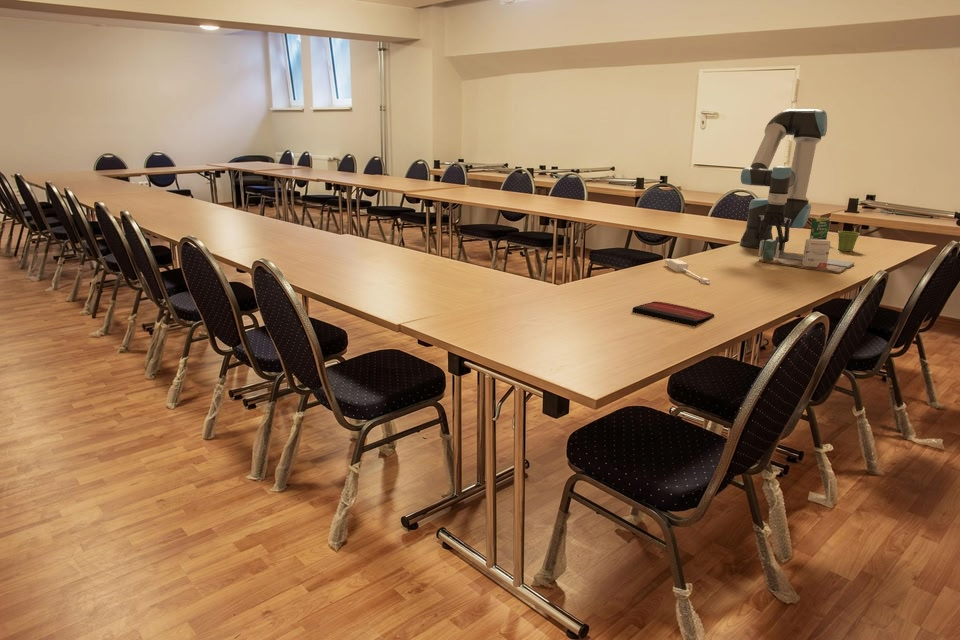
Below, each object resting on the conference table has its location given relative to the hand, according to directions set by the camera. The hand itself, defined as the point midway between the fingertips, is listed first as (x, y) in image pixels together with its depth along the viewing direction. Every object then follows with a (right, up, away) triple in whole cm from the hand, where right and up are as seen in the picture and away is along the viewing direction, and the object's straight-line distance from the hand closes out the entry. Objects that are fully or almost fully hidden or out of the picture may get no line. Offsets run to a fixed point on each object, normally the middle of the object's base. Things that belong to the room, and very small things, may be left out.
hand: (768, 256), depth 290 cm
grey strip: (+20, -2, +2) cm, 20 cm away
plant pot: (+49, +5, +29) cm, 57 cm away
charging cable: (-44, -10, -28) cm, 53 cm away
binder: (-65, -27, -82) cm, 108 cm away
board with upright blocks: (+11, -5, -8) cm, 14 cm away
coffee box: (+44, +10, +44) cm, 63 cm away
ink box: (+14, -6, -11) cm, 19 cm away
